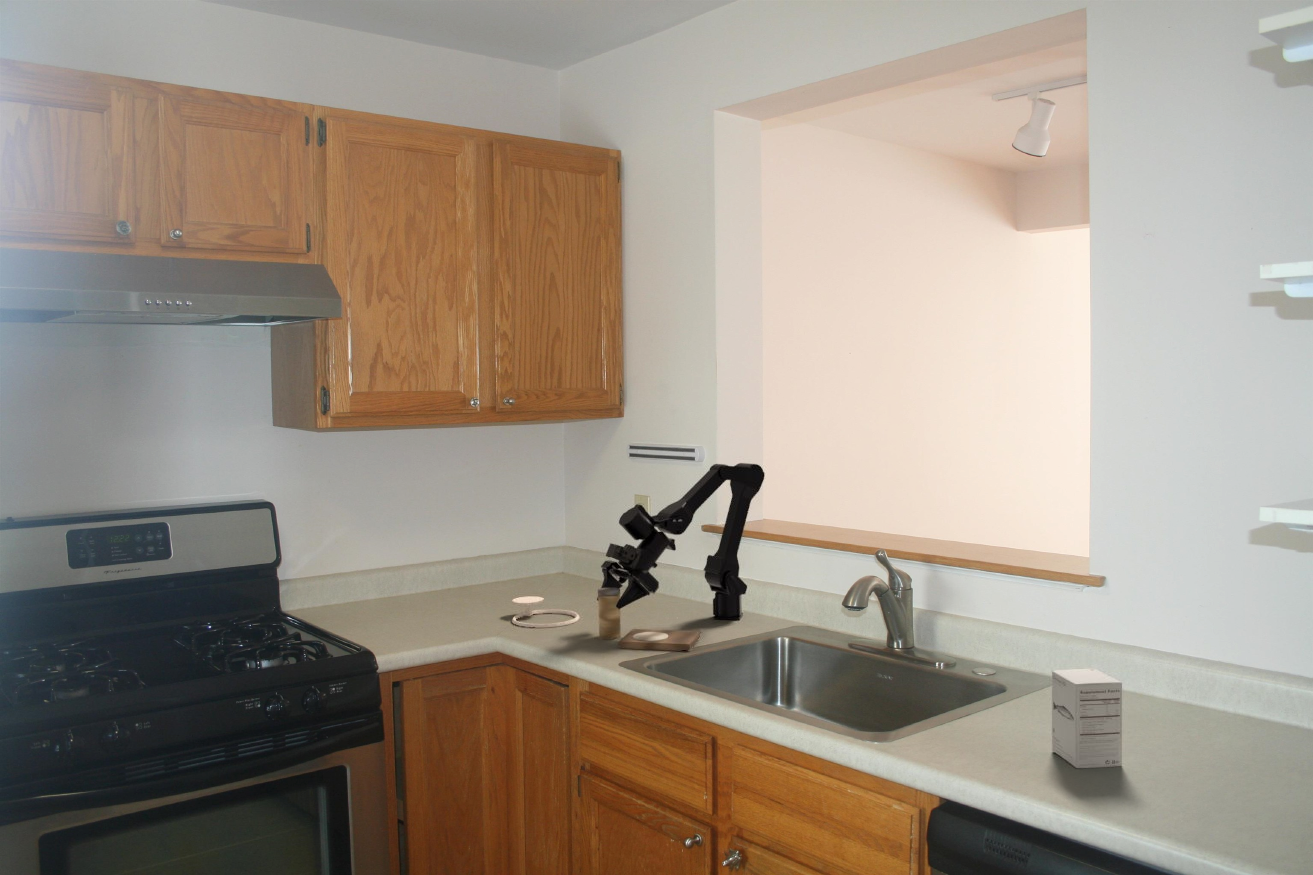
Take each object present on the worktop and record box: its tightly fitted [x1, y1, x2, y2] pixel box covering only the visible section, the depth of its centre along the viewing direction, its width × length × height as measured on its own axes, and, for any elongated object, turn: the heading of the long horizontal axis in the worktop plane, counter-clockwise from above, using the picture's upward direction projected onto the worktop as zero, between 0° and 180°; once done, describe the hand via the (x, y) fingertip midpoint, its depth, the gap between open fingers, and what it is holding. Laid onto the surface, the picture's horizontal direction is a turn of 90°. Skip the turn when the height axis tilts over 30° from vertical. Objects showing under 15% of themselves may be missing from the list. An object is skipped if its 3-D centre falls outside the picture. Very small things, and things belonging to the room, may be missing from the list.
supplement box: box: [1051, 668, 1123, 769], centre depth 146 cm, size 7×7×13 cm
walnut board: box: [618, 628, 701, 651], centre depth 221 cm, size 16×12×2 cm
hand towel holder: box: [511, 595, 580, 629], centre depth 247 cm, size 17×4×21 cm
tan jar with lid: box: [597, 587, 622, 640], centre depth 227 cm, size 5×5×11 cm
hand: (607, 604), depth 227 cm, fingers open, 9 cm apart
